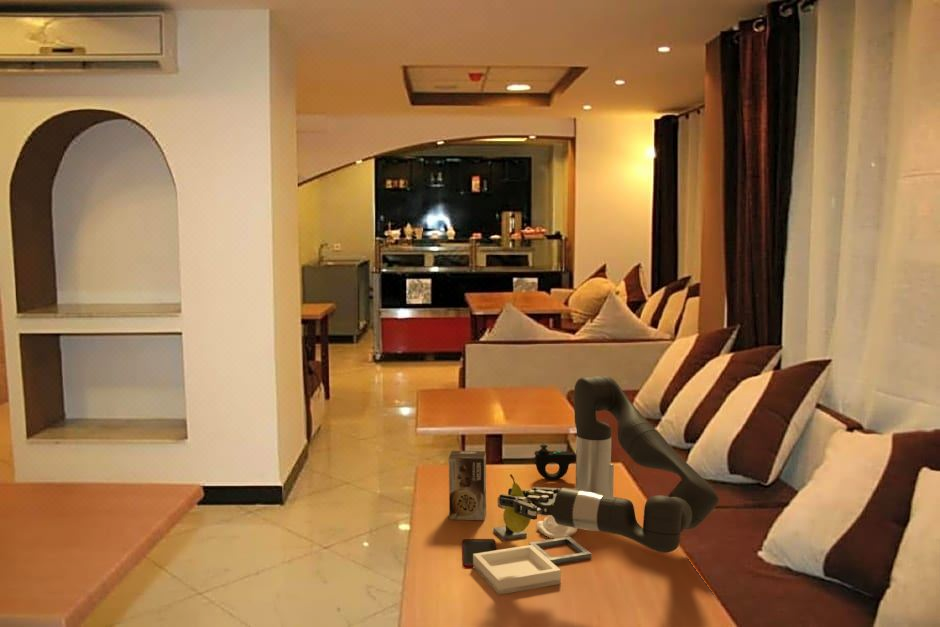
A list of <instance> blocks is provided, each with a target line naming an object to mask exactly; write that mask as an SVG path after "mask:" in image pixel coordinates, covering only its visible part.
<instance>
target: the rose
mask: <svg viewBox="0 0 940 627" xmlns="http://www.w3.org/2000/svg"><path fill="white" fill-rule="evenodd" d="M536 528H537V530H538V532H539V531H540V532H539V533H541V532H542V533H541V534H543V535H544V536H545V537H546V536H547V537H546V538H548V537H549V538H548V539H552V538H562V537H572V536H573V534H574V535H575V534H576V533H577V531H578V528H574V527H568V526H563V525H558V524H557V523H556V522H555V519H554V517H553V516H552V515H548V516H545V517H544V518H543V520H539V521H537V522H536Z"/></svg>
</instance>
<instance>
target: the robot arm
mask: <svg viewBox="0 0 940 627" xmlns="http://www.w3.org/2000/svg"><path fill="white" fill-rule="evenodd" d="M573 390H574V391H573V406H574V409H573V410H574V425H575V429H576V436H575V437H576V439H575V441H576V444H575V445H576V446H575V449H576V450H575V454H576V461H575V488H570V487H561V488H559V487H544V486H543V487H542V486H541V487H540V486H533V487H532V488H531V489H530V488H527V489H521V490H522V492H523V494H524V497H519V496H518V497H517V496H512V495H510V494H511V491H512V487H510V488H508V491H507V494H505V493H501V494H500V495H498V497H499V504H500V505H503V506H509V507H514V512H515V513H517V514H520V515H522V516H525V517H528V518H530V519H531V520H538V516H545V517H548V516H549V515H552V516H553V517H554V519H555V522H556V523H557V524H558V525H563V526H568V527H574V528H577V529H579V530H586V531H594V532H595V531H596V532H602V533H609V534H614V535H619V536H622V537H625V538H627V539H629V540H632V541H634V542H637V543H639V544H640V545H642V546H644V547H646V548H648V549H650V550H652V551H654V552H658V553H662V554H663V553H665V554H666V553H671V552H673V551H675V550H676V549H678V548H679V545H680V541H681V540H680V539H681V533H682V532H683V531H685V530H692V529H694V528H697V527H698V526H699V525H701V523H702V522H703V521H704V520H705V519H706V518H707V517H708V516H709V515H710V514H711V512H712V511H713V510H714V509H715V507H717V505H718V504H719V502H720V497H719V495H718V493H717V491H716V490H715V489H714V488H713V487H712V485H711V484H710V483H708V481H707V480H706V479H705V478H704V477H702V476H701V475H700V473H698V472H697V471H696V470H695V469H694V468H693V467H692V466H691V465H690V464H689V463H687V462H686V461H685V460H684V459H683V458H682V457H681V456H680V455H679V454H678V453H677V451H676V450H675V449H674V448H673V447H672V446H671V444H669V442H668V441H667V440H666V439H665V438H664V437H663V436H662V434H660V432H659V431H658V430H657V429H656V428H655V427H654V426H653V424H651V423H650V422H649V420H647V419H646V418H645V416H644V415H643V414H642V413H641V411H639V409H637V408H636V406H635V405H634V404H633V403H632V402H631V400H630V399H629V398H628V396H627V395H626V393H625V392H624V391H623V389H622V387H620V385H619V384H618V382H617V380H616V381H615V379H614V378H612V377H611V376H608V375H596V376H595V375H594V376H584V377H581V378H579V379H577V380H576V382H575V385H574V389H573ZM603 411H607V412H609V413H610V414H611V415H612V416H613V417H614V418H615V419H616V421H617V439H618V443H619V444H620V446H621V448H622V449H623V450H624V453H626V454H627V455H628V456H629V458H630V459H631V460H632V461H633V462H634V463H636V464H637V465H639V466H641V467H644V468H647V469H648V468H649V469H653V470H654V469H655V470H660V471H665V472H668V473H669V472H670V473H672V474H675V475H677V476H678V477H679V478H680V481H679V482H678V484H676V486H675V487H674V488H673V489H672V490H671V492H669V494H668V495H662V494H658V495H657V494H656V495H653V496H650V497H648V498H647V500H646V501H645V504H644V509H643V520H642V521H643V523H642V526H641V525H640V524H639V523H638V520H637V517H636V513H635V506H634V504H633V502H632V501H631V500H630V499H627V498H623V497H617V496H614V473H615V472H614V471H615V469H614V468H615V465H614V464H613V463H612V433H613V432H612V427H611V425H610V424H608V423H606V422H604V421H600V420H597V415H596V414H597V412H603ZM523 501H525V502H523Z"/></svg>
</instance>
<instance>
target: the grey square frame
mask: <svg viewBox="0 0 940 627" xmlns="http://www.w3.org/2000/svg"><path fill="white" fill-rule="evenodd" d="M562 544H564V545H567V546H568V547H570V548H571V547H572V548H571V549H572V550H574V551H575V552H576V551H577V552H576V553H572V554H564V555H559V556H551V554H548V553H547V552H546V551H545V550H544V549H543V548H542V547H545V548H549V547H550V546H551V547H557V546H562ZM528 545H533V546H534V547H535V548H536V549H537V550H538V551H539V552H541V553H542V554H543V555H544V556H545V557H546V558H548V559H549V560H550V561H551V562H552V563H553V564H555V565H556V566H557V565H560V564H567V563H568V564H569V563H573V562H574V563H575V562H579V560H580V561H584V560H583V559H586V560H590V559H589V558H591V559H592V552H590V551H589V550H588V549H586V548H585V547H583V545H581V544H580V543H579V542H577V541H576V540H574V539H573V538H572V536H568V537H562V538H556V539H552V538H548V539H544V540H537V541H531V542H528ZM556 545H557V546H556Z"/></svg>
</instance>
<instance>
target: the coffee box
mask: <svg viewBox="0 0 940 627" xmlns="http://www.w3.org/2000/svg"><path fill="white" fill-rule="evenodd" d="M448 456H449V457H448V485H449V486H448V489H449V490H448V496H449V497H448V500H449V502H448V503H449V504H448V506H449V508H448V510H449V511H448V513H449V518H448V519H449V520H462V521H463V520H465V521H485V520H486V516H487V451H485V450H484V451H481V450H475V451H474V450H451V451H450V454H449V455H448Z"/></svg>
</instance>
